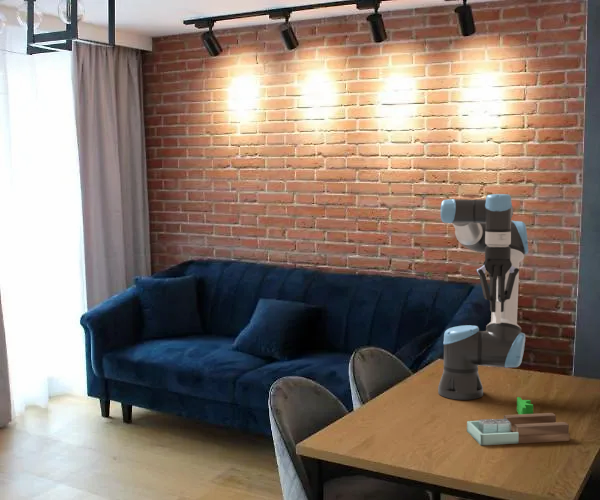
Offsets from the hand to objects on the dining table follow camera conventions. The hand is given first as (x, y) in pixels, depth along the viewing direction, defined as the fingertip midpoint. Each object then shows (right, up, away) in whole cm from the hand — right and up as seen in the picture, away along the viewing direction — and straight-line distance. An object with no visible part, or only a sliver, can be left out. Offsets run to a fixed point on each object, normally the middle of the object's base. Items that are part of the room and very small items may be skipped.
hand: (496, 322), depth 237 cm
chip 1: (-6, -31, -12) cm, 34 cm away
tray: (-4, -32, -12) cm, 35 cm away
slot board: (+8, -32, -11) cm, 35 cm away
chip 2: (-2, -31, -12) cm, 34 cm away
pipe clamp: (+11, -30, +6) cm, 33 cm away
